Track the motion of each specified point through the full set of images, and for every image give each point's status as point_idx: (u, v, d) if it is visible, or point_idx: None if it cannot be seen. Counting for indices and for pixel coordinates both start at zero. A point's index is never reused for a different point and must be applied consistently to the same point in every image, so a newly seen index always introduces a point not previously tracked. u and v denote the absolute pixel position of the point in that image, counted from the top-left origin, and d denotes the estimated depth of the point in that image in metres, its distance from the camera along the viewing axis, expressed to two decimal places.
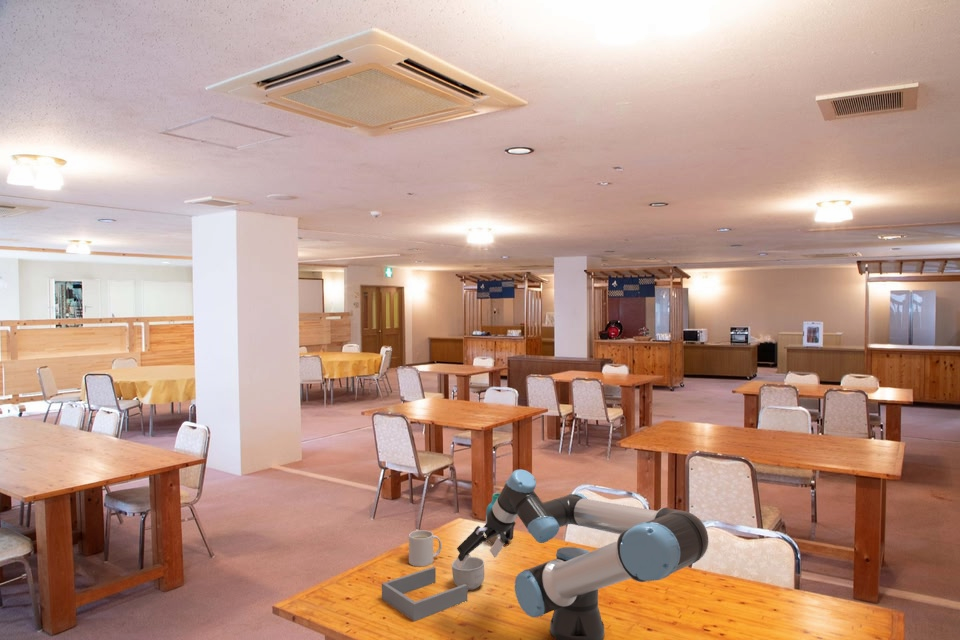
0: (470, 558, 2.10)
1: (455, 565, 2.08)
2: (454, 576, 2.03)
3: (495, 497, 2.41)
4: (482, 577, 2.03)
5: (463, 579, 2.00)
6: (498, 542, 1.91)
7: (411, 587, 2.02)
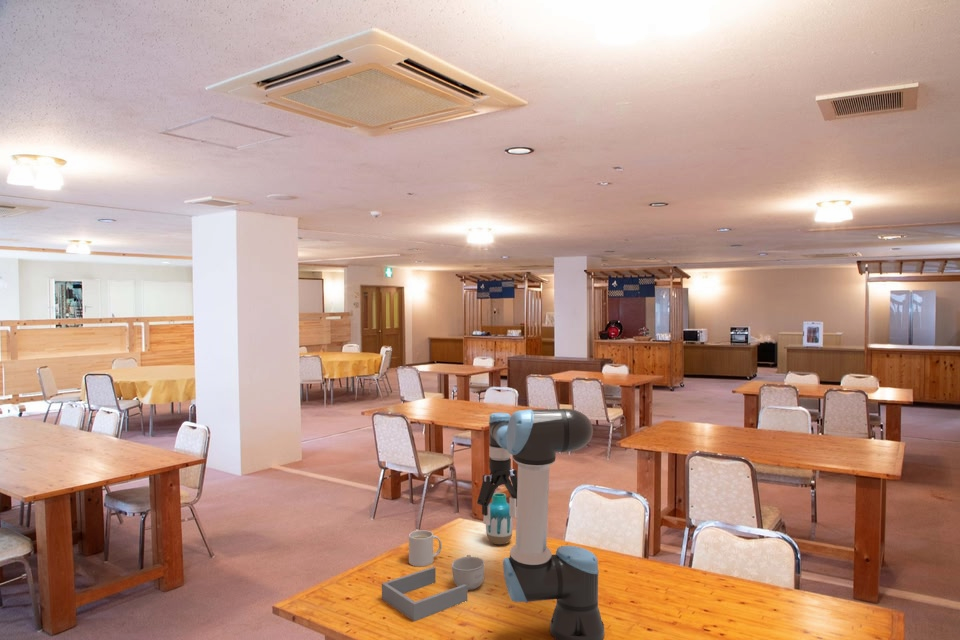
0: (470, 558, 2.10)
1: (455, 565, 2.08)
2: (454, 576, 2.03)
3: (495, 497, 2.41)
4: (482, 577, 2.03)
5: (463, 579, 2.00)
6: (511, 501, 2.19)
7: (411, 587, 2.02)
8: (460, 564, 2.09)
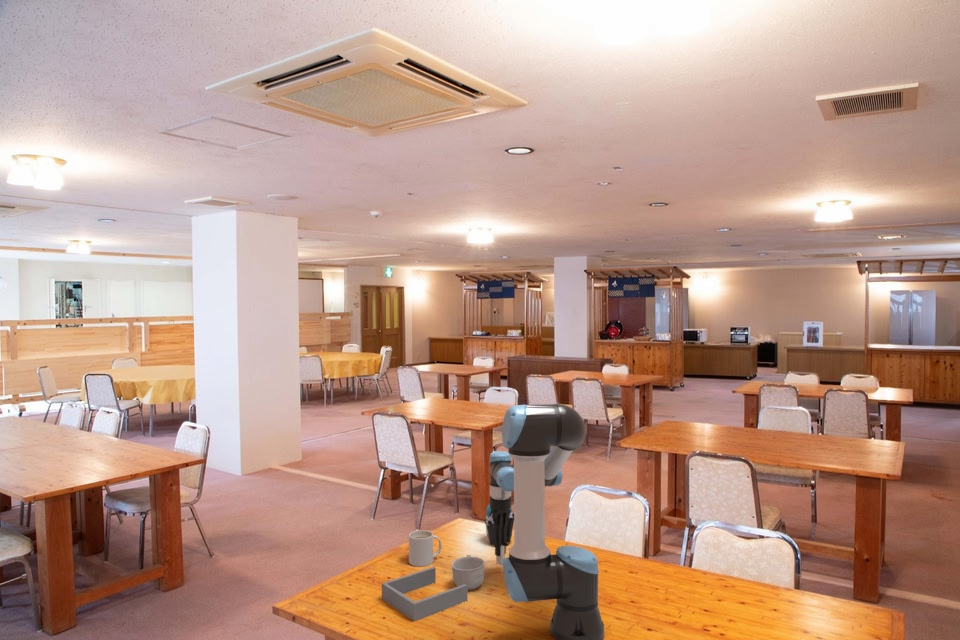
0: (470, 558, 2.10)
1: (455, 565, 2.08)
2: (454, 576, 2.03)
3: None
4: (482, 577, 2.03)
5: (463, 579, 2.00)
6: None
7: (411, 587, 2.02)
8: (460, 564, 2.09)
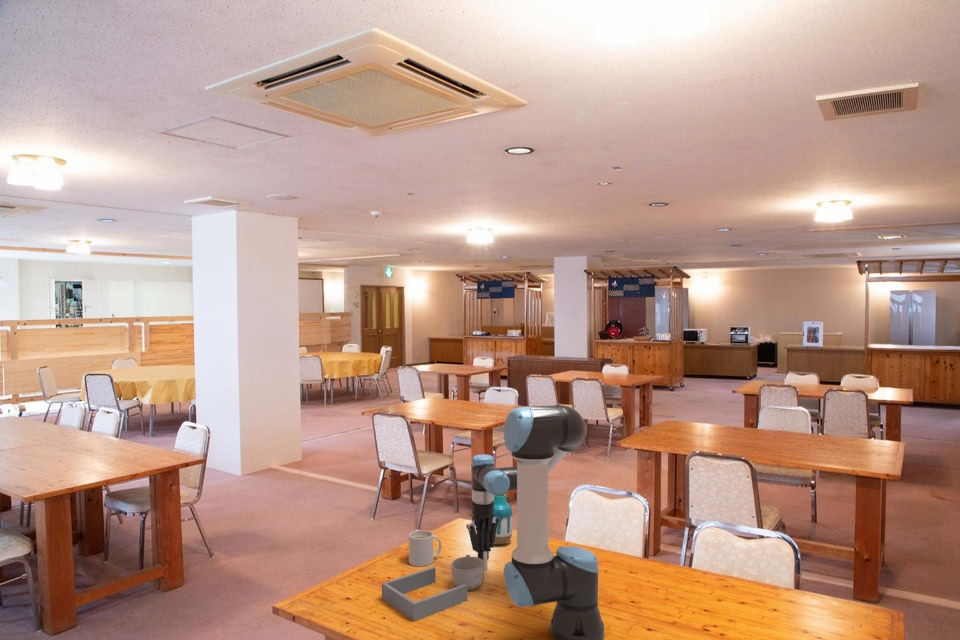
0: (469, 558, 2.10)
1: (454, 565, 2.07)
2: (453, 576, 2.03)
3: (495, 497, 2.41)
4: (481, 577, 2.03)
5: (462, 579, 2.00)
6: None
7: (411, 587, 2.02)
8: (459, 564, 2.09)
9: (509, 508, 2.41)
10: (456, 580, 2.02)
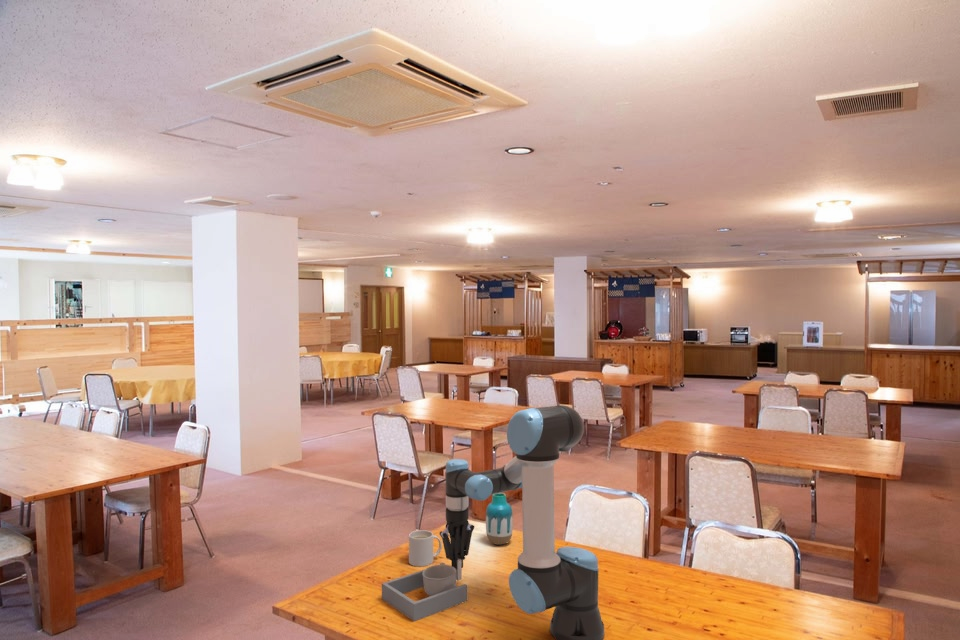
0: (443, 566, 2.03)
1: (427, 573, 2.01)
2: (424, 585, 1.96)
3: (495, 497, 2.41)
4: (453, 586, 1.96)
5: (433, 588, 1.94)
6: None
7: (411, 587, 2.02)
8: (432, 573, 2.03)
9: (509, 508, 2.41)
10: (427, 589, 1.95)
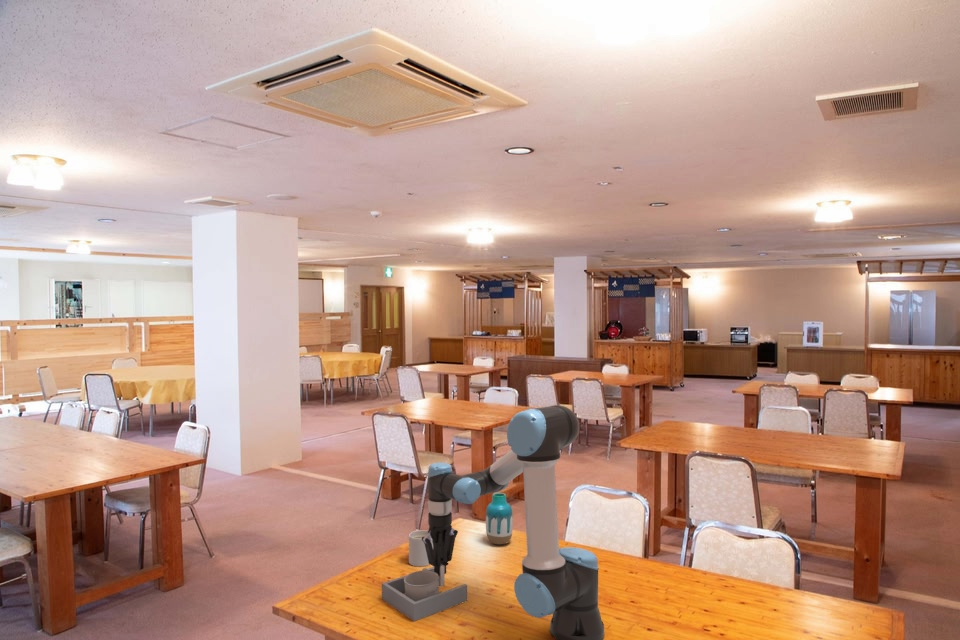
0: (425, 572, 1.99)
1: (409, 579, 1.96)
2: (406, 591, 1.92)
3: (495, 497, 2.41)
4: (435, 593, 1.91)
5: (414, 595, 1.89)
6: None
7: None
8: (414, 579, 1.98)
9: (509, 508, 2.41)
10: (408, 596, 1.90)
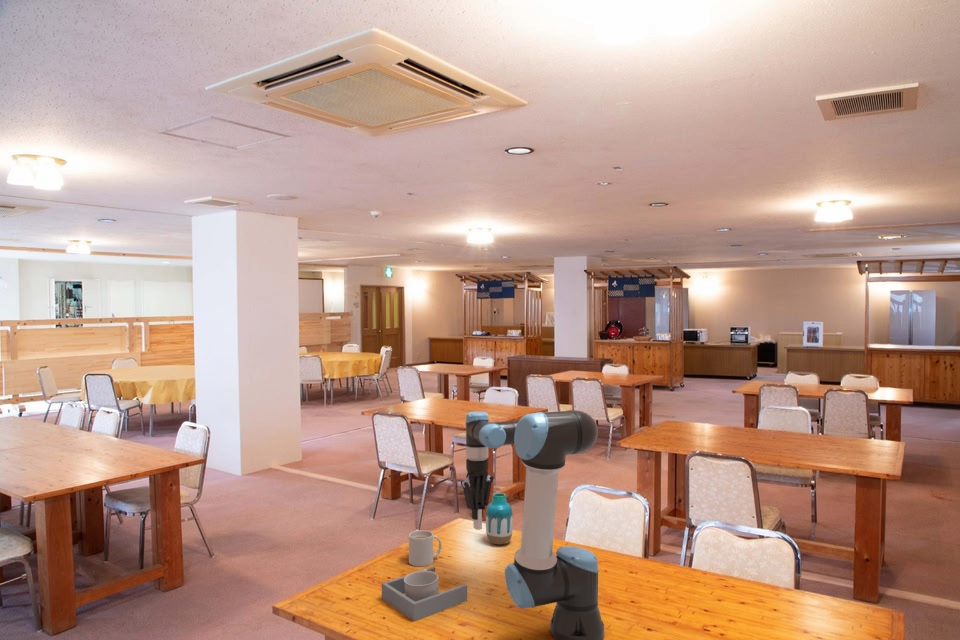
0: (425, 572, 1.99)
1: (409, 580, 1.96)
2: (406, 592, 1.92)
3: (495, 497, 2.41)
4: (435, 593, 1.91)
5: (414, 595, 1.89)
6: None
7: None
8: (414, 579, 1.98)
9: (509, 508, 2.41)
10: (408, 596, 1.90)
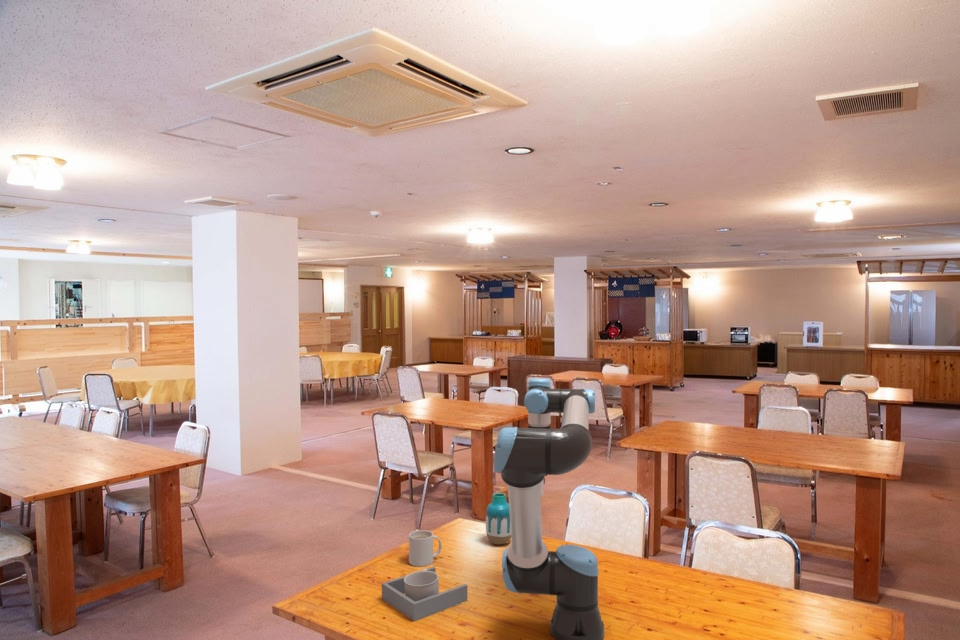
0: (425, 572, 1.99)
1: (409, 580, 1.96)
2: (406, 592, 1.92)
3: (495, 497, 2.41)
4: (435, 593, 1.91)
5: (414, 595, 1.89)
6: None
7: None
8: (414, 579, 1.98)
9: None
10: (408, 596, 1.90)
